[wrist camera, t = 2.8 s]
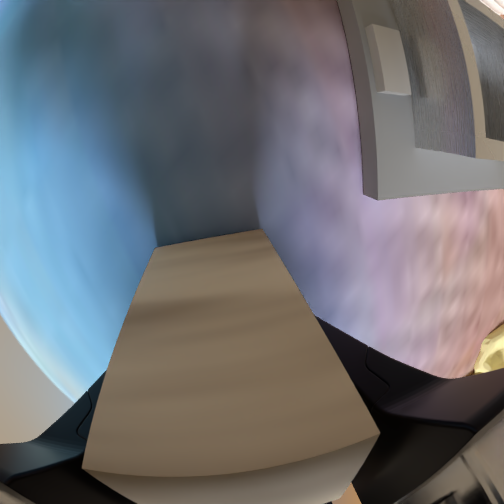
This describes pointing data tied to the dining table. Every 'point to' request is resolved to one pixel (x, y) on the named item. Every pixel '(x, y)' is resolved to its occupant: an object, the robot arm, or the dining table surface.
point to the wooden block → (225, 386)
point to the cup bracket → (454, 74)
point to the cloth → (491, 352)
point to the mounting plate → (400, 115)
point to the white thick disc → (495, 5)
